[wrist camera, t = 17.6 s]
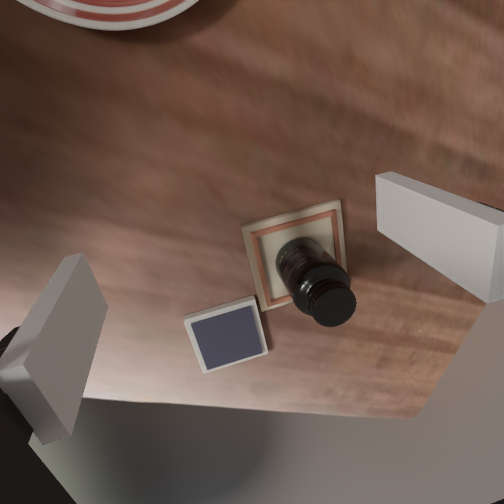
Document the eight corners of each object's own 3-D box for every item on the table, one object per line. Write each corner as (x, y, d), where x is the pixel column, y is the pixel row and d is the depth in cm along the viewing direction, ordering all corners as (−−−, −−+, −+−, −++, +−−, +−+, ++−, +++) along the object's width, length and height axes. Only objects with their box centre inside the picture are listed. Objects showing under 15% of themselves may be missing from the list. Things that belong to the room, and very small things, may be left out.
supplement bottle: (332, 246, 47) (379, 293, 36) (306, 288, 48) (343, 343, 38) (290, 227, 44) (327, 270, 33) (264, 271, 46) (291, 325, 35)
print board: (260, 308, 49) (262, 314, 48) (240, 225, 43) (242, 229, 42) (346, 282, 50) (350, 287, 49) (337, 198, 45) (342, 201, 43)
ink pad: (202, 369, 52) (203, 375, 50) (182, 315, 47) (183, 322, 46) (266, 349, 53) (269, 355, 51) (253, 295, 48) (255, 300, 47)
